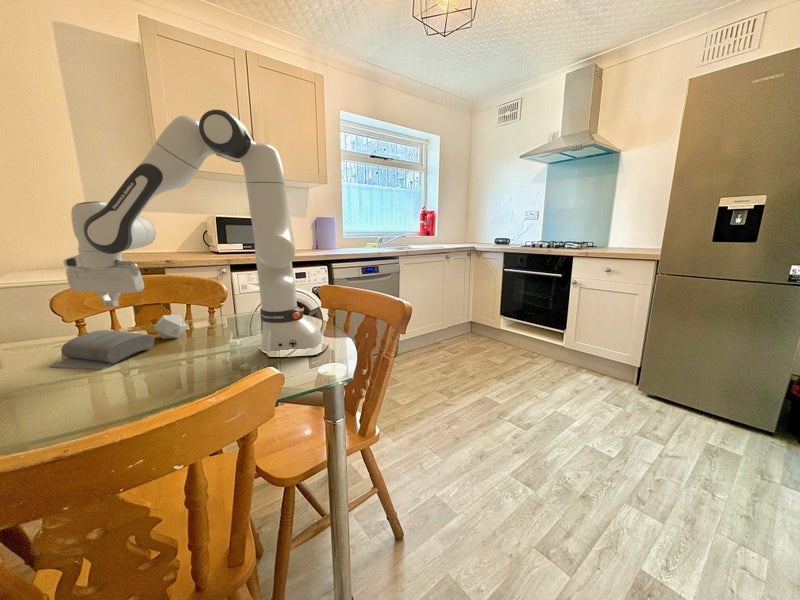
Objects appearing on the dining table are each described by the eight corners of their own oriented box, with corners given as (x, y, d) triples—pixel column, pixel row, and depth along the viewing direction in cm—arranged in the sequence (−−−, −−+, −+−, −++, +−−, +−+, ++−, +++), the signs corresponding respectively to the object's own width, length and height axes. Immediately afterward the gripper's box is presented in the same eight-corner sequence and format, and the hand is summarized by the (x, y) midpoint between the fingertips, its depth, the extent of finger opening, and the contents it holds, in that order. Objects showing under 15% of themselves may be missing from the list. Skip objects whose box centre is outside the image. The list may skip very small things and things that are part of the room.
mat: (147, 347, 108) (147, 346, 108) (102, 369, 93) (102, 367, 92) (102, 345, 109) (102, 344, 109) (50, 367, 93) (50, 365, 93)
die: (168, 345, 112) (184, 320, 114) (143, 332, 111) (161, 307, 113) (179, 344, 120) (195, 321, 122) (157, 333, 119) (173, 309, 121)
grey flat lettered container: (104, 347, 92) (51, 341, 96) (108, 365, 94) (56, 358, 98) (153, 330, 106) (105, 325, 110) (156, 346, 108) (109, 341, 112)
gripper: (145, 259, 95) (153, 304, 99) (80, 257, 96) (90, 302, 100) (126, 262, 89) (136, 309, 92) (57, 260, 90) (69, 307, 93)
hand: (111, 305), depth 96 cm, fingers closed
